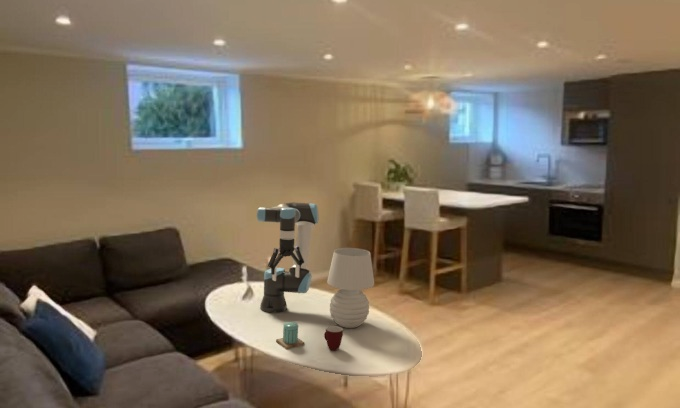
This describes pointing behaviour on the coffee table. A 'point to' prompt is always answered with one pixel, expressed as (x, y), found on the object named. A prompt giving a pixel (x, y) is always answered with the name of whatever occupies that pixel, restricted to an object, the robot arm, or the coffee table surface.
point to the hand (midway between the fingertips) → (285, 278)
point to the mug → (333, 337)
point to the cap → (290, 333)
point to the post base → (290, 344)
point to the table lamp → (350, 286)
